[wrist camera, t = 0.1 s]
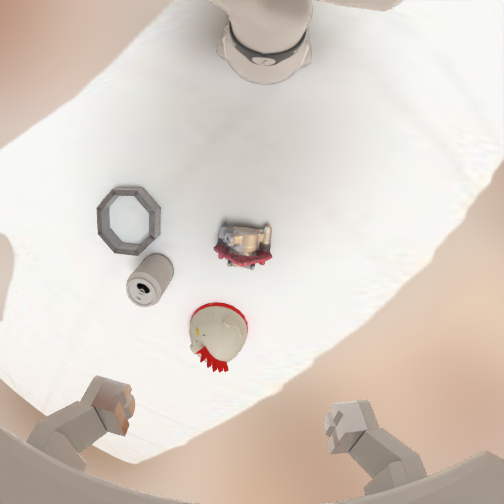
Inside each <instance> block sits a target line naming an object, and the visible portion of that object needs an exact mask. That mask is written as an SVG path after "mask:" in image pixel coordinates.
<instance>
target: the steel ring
mask: <svg viewBox="0 0 504 504" xmlns="http://www.w3.org/2000/svg"><path fill="white" fill-rule="evenodd" d="M118 196H135V197H136V199H137V200H138V201H139V202H140V203H141V204H142V206H143V207H144V208H145V209H146V210H147V211H148V213H149V237H148V238H147V239H146V240H145V241H144V242H143V243H142V244H141V245H139V244H130V243H123V242H122V241H121V240H120V239H119V238H118V237H117V235H116V234H115V233H114V232H113V231H112V230H111V228H110V223H109V206H110V205H111V204H112V203H113V202H114V201H115V199H116V198H117V197H118ZM160 211H161V208H160V207H159V205H158V204H157V203H156V202H155V201H154V200H153V198H152V197H151V196H150V195H149V194H148V193H147V191H146V190H145V189H144V188H135V187H118V188H115V189H112V190H111V192H110V193H109V194H108V195H107V196H106V197H105V199H104V200H103V201H102V202H101V203H100V205H99V206H98V207H97V225H98V234H99V236H100V237H101V238H102V239H103V240H104V242H105V243H106V244H107V245H108V246H109V247H110V248H111V250H112V251H113V252H114V253H118V254H126V255H135V256H138V255H139V254H140V253H141V252H142V251H143V250H144V249H145V248H146V247H147V246H148V245H149V244H150V243H151V242H152V241H154V240H155V239H156V238H157V237H158V236H159V235H160Z"/></svg>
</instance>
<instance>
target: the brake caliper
mask: <svg viewBox="0 0 504 504" xmlns="http://www.w3.org/2000/svg"><path fill="white" fill-rule="evenodd" d="M270 242H271V227H270V225H269V224H266V226H265V228H264V229H256V230H255V229H253V228H249V227H236V226H232V227H229V226H228V224H227V222H224V223H223V224H222V226H221V228H220V233H219V236H218V243H217V245H216V246H215V247H214V250H215V251H216V252H217V253H219V255H218V257H219V259H222V258H223V257H225V258H227V259H228V264H227V266H228V267H230V266H240V267H244V268H248V269H251V270H254V267H255V263H260V264H261V265H264V264H265V261H266V260H269V259H271V258H272V255H271V253H270Z"/></svg>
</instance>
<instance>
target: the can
mask: <svg viewBox="0 0 504 504" xmlns="http://www.w3.org/2000/svg"><path fill="white" fill-rule="evenodd" d="M173 274H174V273H173V267H172V264H171V263H170V261H169V260H168V259H167V258H165V257H164V256H162V255H158V254H153V255H150V256H148V257H147V258H146V259H145V260H144V261H143V262H142V263H141V264H140V265H139V266H138V267H137V269H136V270H135V271H134V272H133V273H132V274H131V275H130V277H129V278H128V280H127V284H126V286H127V289H126V290H127V295H128V297H129V299H130V300H131V301H132V302H133V303H134V304H136V305H138V306H140V307H149V306H152V305H154V304H156V303H157V302H158V301H159V300H160V298H161V296H162V295H163V293H164V291H165V290H166V288H167V286H168V284H169V283H170V281H171V279H172V277H173Z"/></svg>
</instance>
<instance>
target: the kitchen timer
mask: <svg viewBox="0 0 504 504" xmlns="http://www.w3.org/2000/svg"><path fill="white" fill-rule="evenodd" d="M189 331H190V338H191V342H192V344H191V346H190V348H191V350H192V352H193V353H194V354H197V355H198V356H199V357H200V358H201V360H200V362H202V361H205V362H207V368H209V367H210V366H211V365H212V368H213V372H214V371H216V370H217V368H218V370H219V372H221V371H223V368H224V371H225V372H226V371H228V366H227V362H229V361H230V360H232V359H233V358H235V357H236V356H237V354H238V353H239V352H240V350H241V349H242V347H243V345H244V343H245V340H246V337H247V333H248V328H247V321H246V319H245V317H244V315H243V314H242V313H241V312H240V311H239V310H238V309H236V308H235V307H233V306H231V305H228V304H225V303H209V304H206V305H203V306H201V307H200V308H199V309H197V310H196V311H195V313H194V315H193V316H192V319H191V323H190V330H189Z"/></svg>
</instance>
